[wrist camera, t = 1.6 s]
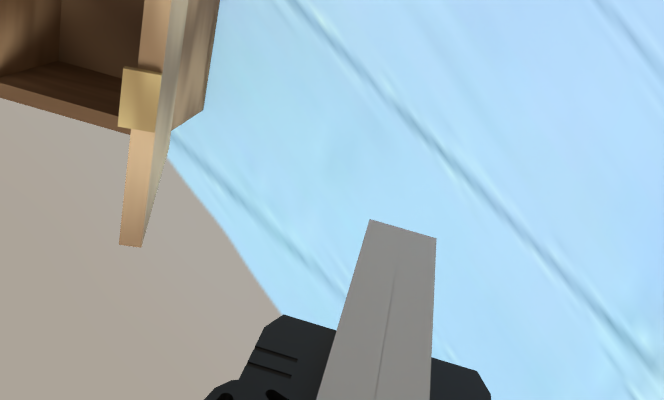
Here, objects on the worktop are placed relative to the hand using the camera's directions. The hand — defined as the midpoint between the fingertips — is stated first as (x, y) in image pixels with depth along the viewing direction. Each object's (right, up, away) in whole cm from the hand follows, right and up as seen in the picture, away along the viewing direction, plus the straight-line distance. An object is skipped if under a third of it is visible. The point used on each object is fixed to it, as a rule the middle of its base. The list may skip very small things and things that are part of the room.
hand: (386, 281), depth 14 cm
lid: (-9, +7, +11) cm, 16 cm away
